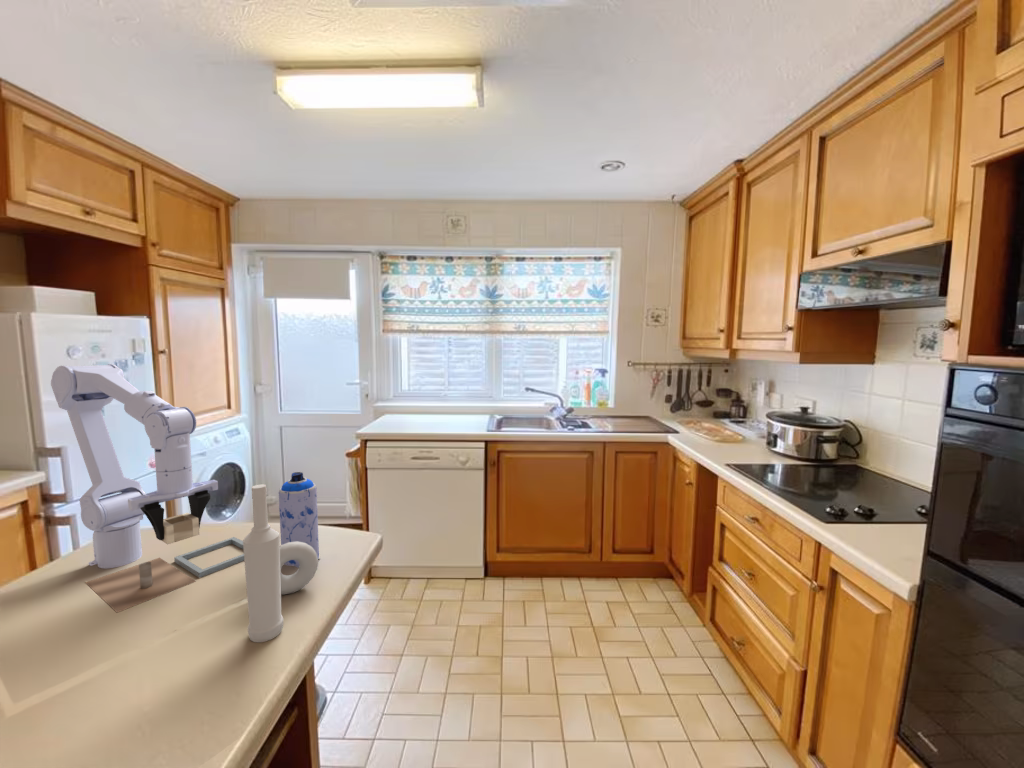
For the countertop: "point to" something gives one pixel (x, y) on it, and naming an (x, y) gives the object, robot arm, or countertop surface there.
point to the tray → (197, 570)
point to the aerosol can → (299, 513)
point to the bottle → (262, 572)
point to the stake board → (139, 584)
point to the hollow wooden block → (180, 528)
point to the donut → (305, 570)
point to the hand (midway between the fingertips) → (178, 533)
